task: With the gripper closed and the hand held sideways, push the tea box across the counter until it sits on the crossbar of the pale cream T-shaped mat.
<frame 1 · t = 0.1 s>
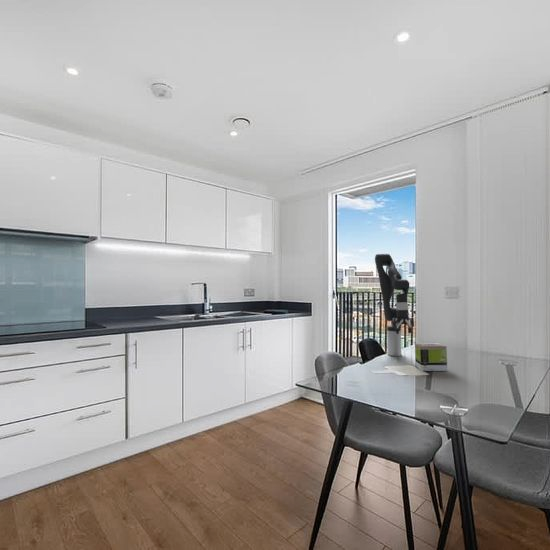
hand: (403, 333, 221), 17 cm above the table, tool pointing down, fingers open, 8 cm apart
T mat: (405, 370, 195), on the table
tea box: (430, 369, 197), on the table, touching T mat
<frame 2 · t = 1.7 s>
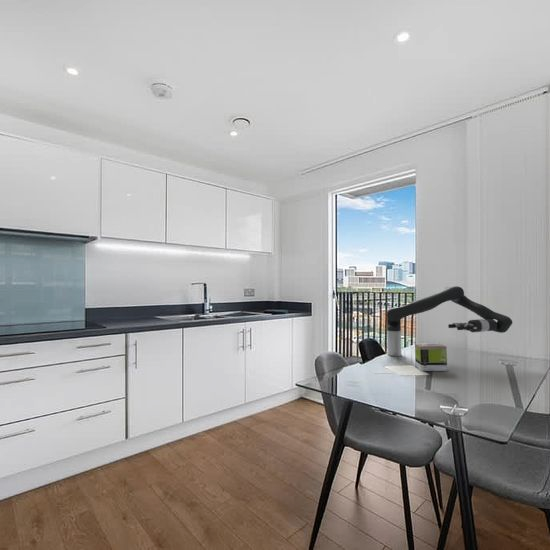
hand: (453, 327, 199), 25 cm above the table, tool horizontal, fingers open, 8 cm apart
nothing on the table moved.
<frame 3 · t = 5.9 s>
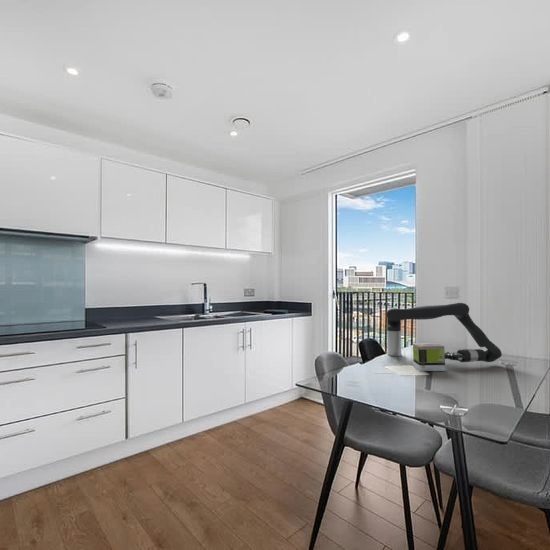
hand: (440, 356, 198), 7 cm above the table, tool horizontal, fingers closed
tea box: (428, 369, 197), on the table, touching gripper
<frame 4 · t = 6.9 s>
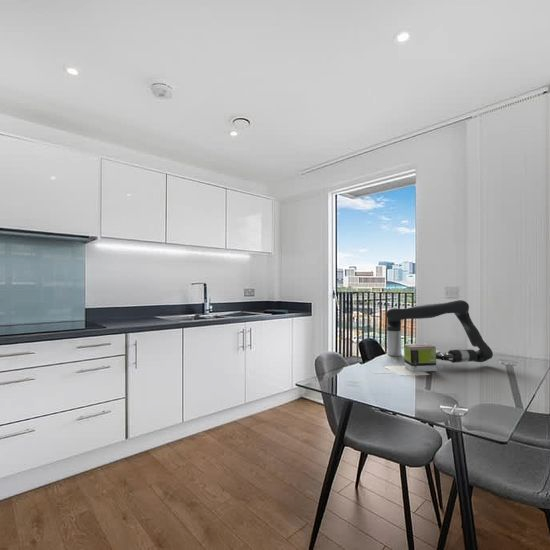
hand: (431, 357, 197), 7 cm above the table, tool horizontal, fingers closed
tea box: (420, 370, 196), on the table
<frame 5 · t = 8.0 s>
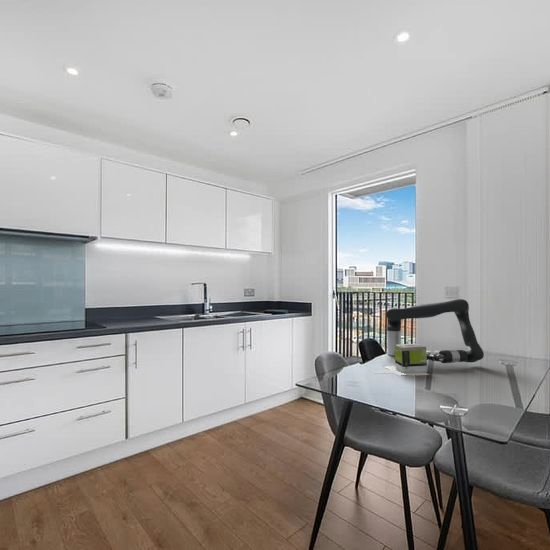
hand: (422, 357, 197), 7 cm above the table, tool horizontal, fingers closed
tea box: (410, 370, 195), resting on T mat
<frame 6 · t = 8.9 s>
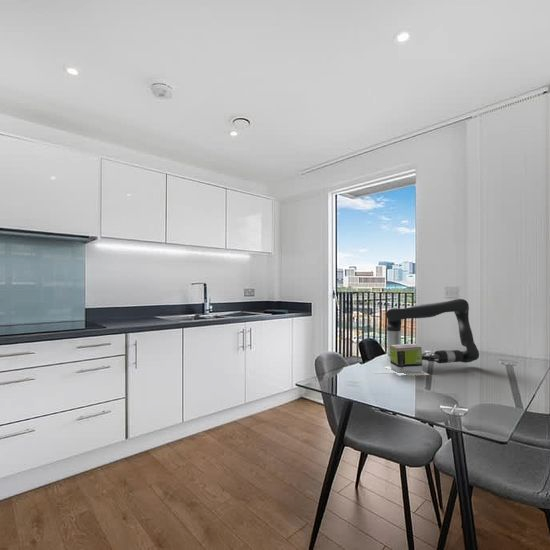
hand: (417, 358, 196), 7 cm above the table, tool horizontal, fingers closed
tea box: (406, 370, 195), resting on T mat, touching gripper
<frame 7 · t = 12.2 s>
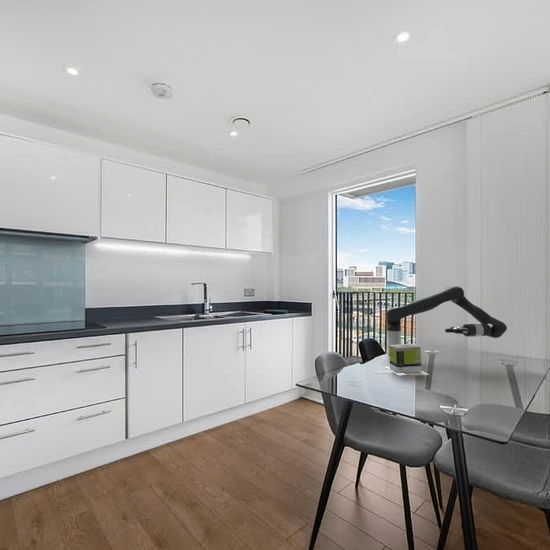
hand: (446, 330, 198), 23 cm above the table, tool horizontal, fingers closed
tea box: (405, 370, 195), resting on T mat
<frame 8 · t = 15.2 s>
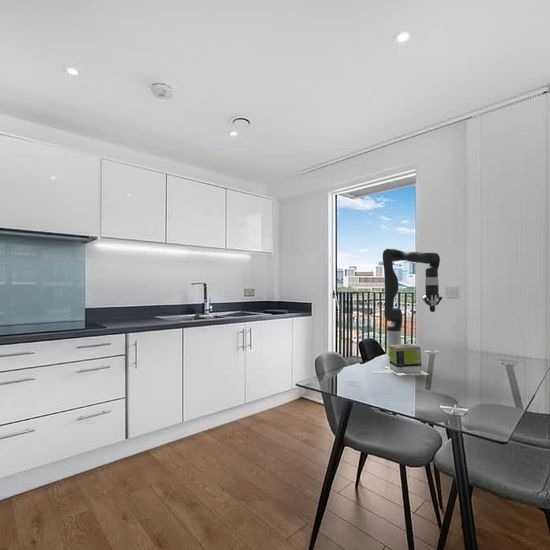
hand: (432, 311, 208), 33 cm above the table, tool pointing down, fingers closed
nothing on the table moved.
at the end: tea box inside the target area (0.6 cm from its centre), resting on T mat; tea box tilted 0° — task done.
